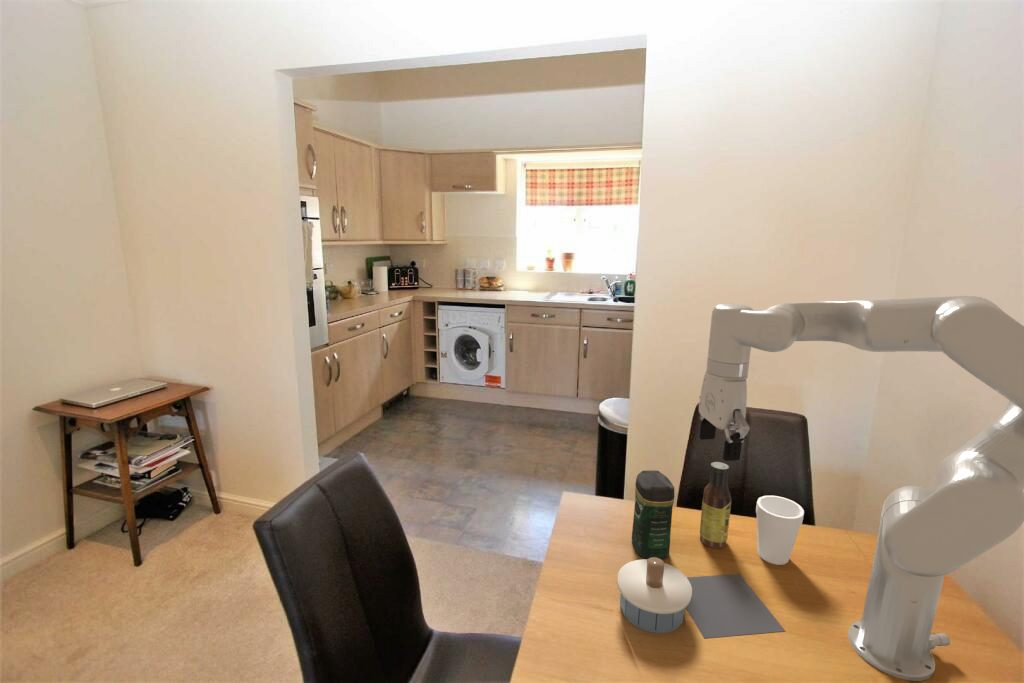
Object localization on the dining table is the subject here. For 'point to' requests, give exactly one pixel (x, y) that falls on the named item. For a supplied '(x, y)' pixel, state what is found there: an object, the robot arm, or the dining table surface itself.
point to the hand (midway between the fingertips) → (718, 448)
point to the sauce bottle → (716, 507)
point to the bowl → (651, 618)
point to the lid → (654, 586)
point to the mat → (728, 607)
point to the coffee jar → (652, 514)
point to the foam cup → (777, 528)
